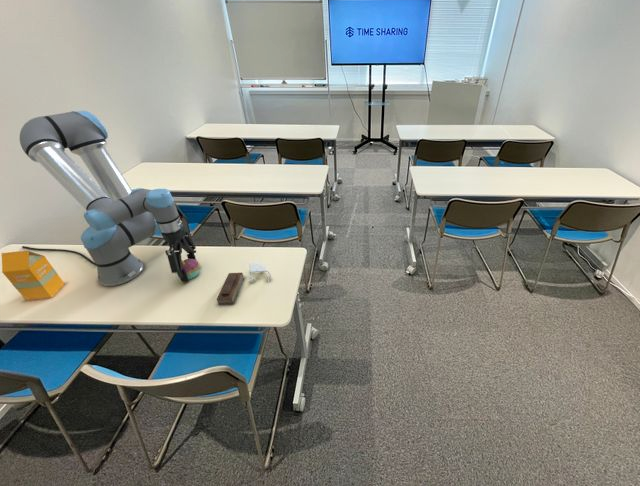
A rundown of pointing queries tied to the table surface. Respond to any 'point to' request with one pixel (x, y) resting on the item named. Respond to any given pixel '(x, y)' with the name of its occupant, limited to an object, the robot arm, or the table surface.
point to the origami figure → (257, 270)
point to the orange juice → (31, 274)
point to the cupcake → (190, 267)
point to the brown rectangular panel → (230, 288)
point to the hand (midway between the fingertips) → (190, 273)
